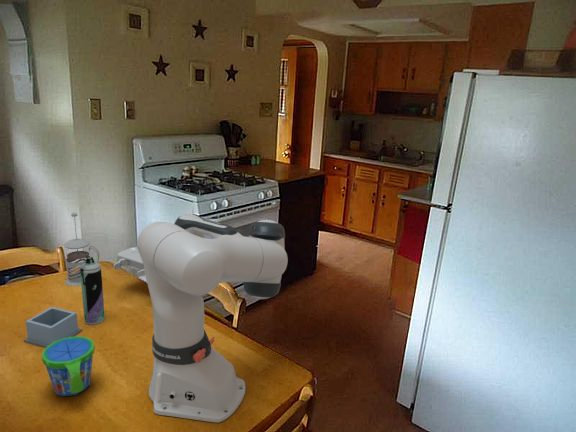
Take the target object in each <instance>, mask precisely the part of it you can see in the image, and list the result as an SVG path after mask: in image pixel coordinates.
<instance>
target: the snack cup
mask: <svg viewBox="0 0 576 432" xmlns="http://www.w3.org/2000/svg"><path fill="white" fill-rule="evenodd" d="M94 354H95V343H94V341H93V340H92V339H91V338H89V337H86V336H77V335H76V336H74V337H68V338H64V339H60V340H58V341H55V342H53V343H52V344H50V345H49V346H47V347H46V348H44V349H43V350H42V352H41V361H42V363H43V364H44V365H45V368H46V371H47V374H48V377H49V380H50V381H51V382H50V383H51V385H52V387H53V391H54V392H55V393H56V394H57V395H58V396H63V397H67V396H69V397H70V396H76V395H78V394H79V393H82V392H83V391H84V390H86V389H87V388H88V387H89V386H90V384H91V379H92V368H93V360H94V359H93V358H94V357H93V355H94Z"/></svg>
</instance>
